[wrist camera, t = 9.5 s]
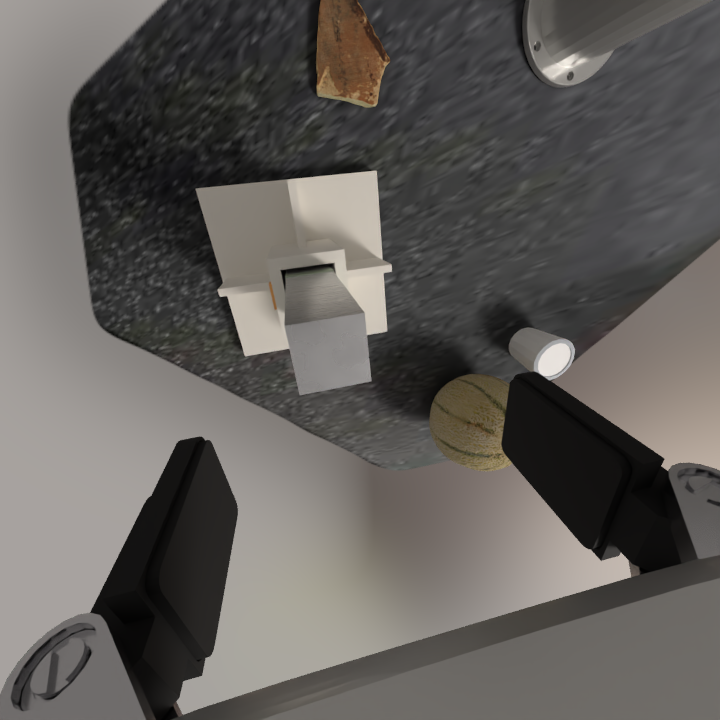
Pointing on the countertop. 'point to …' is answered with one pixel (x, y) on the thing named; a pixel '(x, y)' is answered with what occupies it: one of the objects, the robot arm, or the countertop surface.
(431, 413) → the cantaloupe
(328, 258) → the cream stand
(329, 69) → the shard
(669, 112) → the countertop surface
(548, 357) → the shot glass
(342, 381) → the steel post
